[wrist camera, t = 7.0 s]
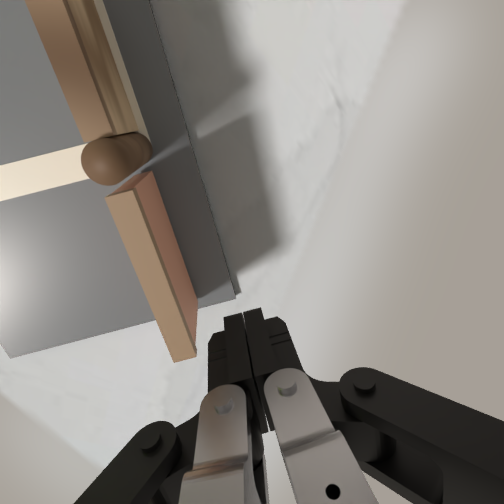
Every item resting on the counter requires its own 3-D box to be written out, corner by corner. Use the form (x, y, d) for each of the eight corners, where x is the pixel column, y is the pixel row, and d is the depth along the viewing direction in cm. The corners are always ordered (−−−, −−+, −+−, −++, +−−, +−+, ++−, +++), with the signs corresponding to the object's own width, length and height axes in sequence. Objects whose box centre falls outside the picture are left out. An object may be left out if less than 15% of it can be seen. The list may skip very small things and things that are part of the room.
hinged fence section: (133, 175, 19) (104, 197, 14) (153, 169, 19) (132, 190, 14) (182, 305, 22) (173, 362, 17) (199, 301, 22) (196, 356, 17)
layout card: (-228, -7, 15) (-241, -11, 14) (122, -91, 15) (119, -97, 15) (13, 354, 23) (9, 359, 23) (235, 295, 23) (236, 299, 23)
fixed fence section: (58, -10, 16) (-25, -80, 10) (96, -20, 16) (33, -94, 10) (126, 168, 19) (92, 190, 13) (157, 161, 19) (135, 179, 13)
